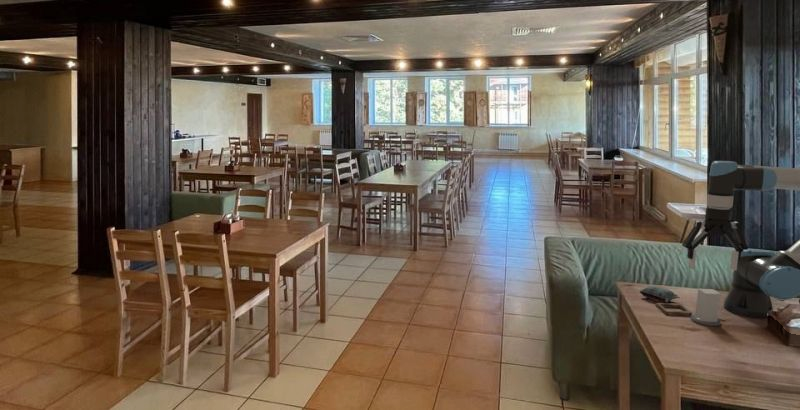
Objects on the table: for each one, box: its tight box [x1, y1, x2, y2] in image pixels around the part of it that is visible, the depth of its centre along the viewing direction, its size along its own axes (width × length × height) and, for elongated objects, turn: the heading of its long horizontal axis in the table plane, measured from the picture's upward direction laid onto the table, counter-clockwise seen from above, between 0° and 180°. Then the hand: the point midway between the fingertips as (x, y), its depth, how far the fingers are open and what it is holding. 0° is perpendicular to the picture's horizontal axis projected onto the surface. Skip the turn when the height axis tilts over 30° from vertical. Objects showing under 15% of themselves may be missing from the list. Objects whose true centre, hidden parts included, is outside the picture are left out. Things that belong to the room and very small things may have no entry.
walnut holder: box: [655, 302, 693, 317], centre depth 194 cm, size 9×9×1 cm
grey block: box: [694, 288, 721, 322], centre depth 184 cm, size 5×5×10 cm
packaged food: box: [638, 284, 681, 303], centre depth 206 cm, size 9×12×5 cm
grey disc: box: [690, 313, 721, 327], centre depth 185 cm, size 9×9×1 cm
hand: (712, 268), depth 182 cm, fingers open, 13 cm apart
